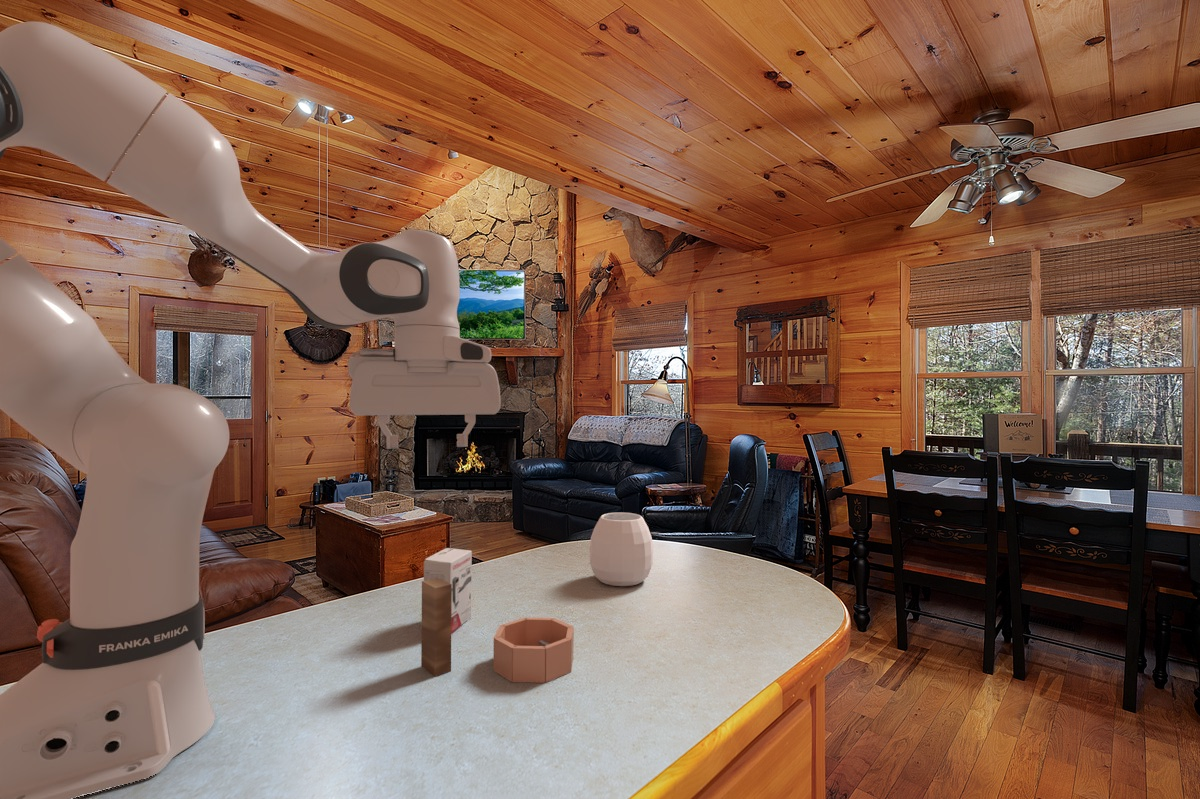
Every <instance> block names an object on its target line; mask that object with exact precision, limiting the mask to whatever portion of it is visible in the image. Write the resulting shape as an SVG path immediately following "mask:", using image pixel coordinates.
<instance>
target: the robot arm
mask: <svg viewBox="0 0 1200 799" xmlns="http://www.w3.org/2000/svg"><path fill="white" fill-rule="evenodd" d="M167 93H168V90H167V89H165V87H162V86H161V85H160V84H158V83H157V82H155V81H154V80H152V79H150V78H149V77H148V76H146V75H145V74H143V73H142V72H140V71H138V70H137V69H135V68H133V67H131V65H129V64H127V63H125V62H123V61H122V60H120V59H119V58H117V57H116V56H114V55H112V54H110V53H109V52H106V51H105V50H103V49H102V48H99V47H97V46H96V45H94V44H92V43H91V42H88V41H87V40H85V39H83V38H82V37H78V35H77V36H76V35H75V34H73V33H71V32H69V31H67V30H66V29H64V28H62V27H59V26H57V25H54V24H51V23H48V22H42V21H30V20H29V21H23V22H20V23H17V24H13V25H11V26H9V27H6V28H4V29H3V30H2V31H0V160H1V159H2V158H3V157H4V154H5V152H6V150H7V148H9V147H10V148H12V147H29V148H35V149H39V150H42V151H45V152H48V153H50V154H52V155H55V156H57V157H59V158H61V159H64V160H66V161H68V162H69V163H71V164H73V165H75V166H77V167H79V168H80V169H82V170H83V171H85V172H87V173H89V174H90V175H92V176H94V177H96V178H97V179H98V180H101V181H102V182H105V181H106V180H107V181H106V184H107V185H109V186H110V187H113V188H115V189H116V190H118V191H119V192H122V193H123V194H125V195H126V196H129V197H130V198H132V199H133V200H136V201H138V202H140V203H141V204H144V205H145V206H147V207H149V208H151V209H153V210H154V211H156V212H158V213H160V214H162V215H164V216H166V217H167V218H169V219H171V220H174V221H175V222H177V223H178V224H180V225H181V226H183V227H186V228H187V229H189V230H190V231H192V232H194V233H195V234H198V235H200V236H201V237H202V238H204V239H205V240H207V241H208V242H210V243H211V244H213V245H214V246H216V247H217V248H219V249H220V250H222V251H224V252H225V253H227V254H228V255H230V256H231V257H233V258H235V259H236V260H238V261H239V262H240V263H242V264H244V266H245V265H246V266H247V267H248V268H250V269H252V270H253V271H255V272H256V273H258V274H259V275H261V276H263V277H264V278H266V279H268V280H269V281H270V282H272V283H274V284H275V285H277V286H278V287H279V288H281V289H282V290H283V291H284V292H285V293H286V294H287V295H289V296H290V297H291V299H293V301H294V302H295V304H297V306H298V307H299V309H300V310H301V311H303V313H304V314H305V315H306V316H307V317H308V318H309V319H311V320H312V321H313V323H316V324H318V325H319V326H322V327H324V328H327V329H332V330H346V329H351V328H353V327H355V326H358V325H361V324H362V323H363V324H364V323H369V322H374V321H376V320H381V319H385V318H387V319H391V320H393V323H394V348H377V349H376V348H375V349H374V348H367V347H366V348H360V349H359V350H358V351H355V352H353V353H352V354H351V355H350V356H349V358H348V360H347V374H348V376H349V378H350V379H351V380H352V381H351V386H350V392H349V395H350V396H349V410H350V411H351V413H353V414H354V415H355V416H357V417H358V416H377V424H378V426H379V428H380V429H381V431H382V433H383V435H384V437H386V438H385V440H386V443H385V444H386V449H387V450H392V449H393V450H395V449H399V442H398V441H399V435H398V434H394V435H393V434H392V432H391V430H390V429H389V427H388V426H387V424H389V423H390V422H391V418H390V416H440V415H442V416H444V415H445V416H449V415H450V416H451V415H455V416H456V415H457V416H458V415H464V422H465V423H467V425H466V427H465V428H464V431H463V432H462V433H457V434H456V440H457V441H456V447H457V448H464V447H465V448H468V444H469V443H468V442H469V441H468V439H469V434H471V431H472V429H473V428H474V427H475V424H476V422H477V421H476V419H477V418H476V415H496V414H497V413H498V412H499V411H500V409H501V405H502V404H501V389H500V382H499V377H498V374H497V371H496V369H495V367H493V365H491V364H490V362H491V360H492V350H491V348H489V346H486V345H483V344H481V343H480V344H479V343H478V342H475V341H471V340H468V339H465V338H462V337H461V330H460V328H461V327H460V324H459V323H460V322H459V320H458V306H459V303H460V296H461V293H460V292H461V290H460V289H461V288H460V270H459V269H460V268H459V262H458V258H457V257H458V256H457V252H456V249H455V247H454V245H453V243H452V242H451V240H449V239H448V238H446V237H445V236H444V235H441V234H440V233H438V232H434V231H432V230H428V229H426V230H425V229H419V228H408V229H405V230H403V231H401V233H398V234H397V235H395V236H393V237H389V238H386V239H383V240H380V241H373V242H364V243H363V242H362V243H358V244H355V245H351V246H349V247H347V248H345V249H341V250H340V251H338V252H335V253H333V254H331V253H330V254H326V253H322V252H317V251H314V250H312V249H310V248H308V247H307V246H306V245H305V244H303V243H301V242H300V241H298V239H295V238H294V237H293V236H292V235H290V234H289V233H287V232H286V231H285V230H284V229H282V228H280V227H279V226H277V225H276V224H275V223H273V222H272V221H271V220H269V219H268V218H267V217H265V216H264V215H263V214H261V213H260V212H259V211H258V210H257V209H256V208H255V207H254V206H253V204H252V203H251V202H250V201H249V199H248V197H247V195H246V192H245V191H244V189H243V185H242V182H241V172H240V165H239V161H238V157H237V156H236V155H237V154H236V153H235V151H234V148H233V146H232V144H231V143H230V141H229V140H228V139H227V138H226V137H225V136H224V135H223V134H222V132H220V131H219V129H216V127H214V126H213V124H212V123H211V122H210V121H208V119H206V118H205V116H203V115H201V114H200V113H199V112H198V111H197V110H195V109H194V108H192V107H191V106H190V105H188V104H187V103H185V102H184V101H183V100H181V99H180V98H178V97H177V96H176V95H174V94H173V93H172V92H169V93H168V94H167ZM16 254H17V255H16ZM14 255H15V256H14ZM12 256H14V257H12ZM9 258H10V259H9ZM358 355H359V356H358ZM0 411H2V412H3V413H4V414H6V415H7V416H8V417H9V418H10V419H12V420H13V422H15V423H16V424H18V425H19V426H20V427H21V428H23V429H24V430H26V432H28V433H29V434H30V435H31V436H32V437H34V438H36V439H37V440H38V441H40V442H41V443H42V444H43V445H45V446H46V447H47V448H48V449H49V450H51V451H52V452H54V453H55V454H56V455H57V456H58V457H60V458H62V459H63V460H64V461H65V462H67V463H68V464H69V465H71V466H72V467H73V468H74V469H76V470H77V471H80V472H81V473H83V474H86V483H85V493H84V498H83V503H82V507H81V512H80V519H79V521H78V526H77V530H76V533H75V536H74V538H73V540H72V541H71V543H70V544H71V545H70V549H69V550H70V554H69V555H70V568H69V570H70V571H69V572H70V575H69V578H70V580H69V581H70V582H69V618H68V619H66V620H64V621H60V619H58V618H50V619H47V620H44V621H43V622H40V623H41V625H39V626H38V627H37V631H36V638H37V639H38V641H39V642H40V643H41V658H42V662H41V664H39V665H38V666H36V667H35V668H34V669H33V670H31V671H30V672H28V673H27V674H26V675H25V676H23V677H22V678H21V679H19V680H18V681H17V682H15V683H14V684H13V685H11V686H10V687H9V688H7V689H6V690H4V692H2V693H0V799H71V798H75V797H76V796H77V797H78V796H80V795H82V794H87V793H92V792H95V791H98V790H103V789H106V788H109V787H114V786H118V785H122V784H127V785H129V784H128V783H130V784H132V783H131V782H134V783H136V782H135V781H138V782H140V781H139V780H141V779H144V778H148V779H150V778H151V777H150V776H152V777H154V776H156V775H157V774H159V773H160V772H161V771H162V770H163V769H164V768H166V767H167V765H168V764H169V763H170V762H171V761H172V759H173V758H175V757H176V756H177V755H178V754H179V755H180V753H182V752H183V751H185V750H186V749H188V748H189V747H191V746H192V745H194V744H195V743H197V741H198V742H199V740H200V739H202V738H203V737H204V736H205V735H206V734H207V733H208V732H209V731H210V729H211V728H212V727H213V725H214V723H215V720H216V713H215V711H214V708H213V706H212V703H211V700H210V696H209V694H208V690H207V685H206V680H205V675H204V668H203V660H202V649H203V646H204V640H205V634H206V633H205V630H206V629H205V625H206V624H205V621H206V618H205V616H206V615H205V612H206V611H205V607H204V600H202V598H201V596H200V550H201V549H200V547H201V545H200V544H201V542H200V541H201V531H202V525H203V520H204V514H205V510H206V505H207V502H208V498H209V495H210V494H209V493H210V490H211V486H212V482H213V478H214V473H215V470H216V468H217V467H218V466H219V464H220V463H221V462H222V461H223V459H224V457H225V455H226V453H227V451H228V448H229V443H230V428H229V424H228V420H227V419H226V417H225V415H224V413H223V412H222V411H221V409H220V408H219V407H218V406H217V405H216V404H215V403H214V402H213V401H211V400H209V399H208V398H207V397H205V396H204V395H202V394H200V393H198V392H196V391H193V390H191V389H189V388H187V387H185V386H181V385H179V384H174V383H173V384H172V383H166V382H165V383H164V382H161V383H160V382H159V383H150V382H149V381H147V380H145V379H144V378H143V377H141V376H140V375H139V374H137V373H136V372H135V371H134V370H133V368H132V367H131V366H130V365H129V364H128V363H127V362H126V360H124V358H123V357H122V356H121V355H120V354H119V352H118V351H117V350H116V349H115V348H114V347H113V346H112V344H111V343H110V342H109V341H108V339H107V338H106V337H105V336H104V334H103V333H102V332H101V330H100V328H99V326H98V324H97V323H96V320H94V318H93V317H92V316H91V315H90V314H88V313H87V312H86V311H85V310H84V309H83V308H82V307H81V306H80V305H78V304H77V303H76V302H75V301H74V300H73V299H72V298H70V297H69V296H68V295H67V294H66V293H65V292H63V291H62V290H61V289H60V288H59V286H57V285H56V284H55V283H53V281H51V280H50V278H48V277H47V276H45V274H44V273H42V272H41V271H40V270H39V269H38V268H37V267H35V266H34V265H33V264H32V263H31V262H30V261H29V260H27V259H26V258H25V257H24V256H23V255H22V254H21V253H20V254H19V252H18V251H17V249H15V248H14V247H13V246H12V245H11V244H10V243H8V242H7V241H6V240H5V239H3V238H2V237H1V236H0ZM155 774H156V775H155ZM153 775H154V776H153ZM149 777H150V778H149ZM141 781H142V780H141Z"/></svg>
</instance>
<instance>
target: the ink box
mask: <svg viewBox="0 0 1200 799" xmlns="http://www.w3.org/2000/svg"><path fill="white" fill-rule="evenodd" d="M472 553H473V550H466V549H461V548H460V549H459V548H452V547H451V548H450V547H445V548H444V549H441V550H440V551H438V552H435V553H434V554H432V555H430V556H428V557H426V558H425V559H424V562H423V581H425V580H430V579H434V578H439V579H441V580H443V581H446V582H448V583H450V584H452V602H451V635H452V634H453V633H454V632H456V630H458V629H459V628H460V627H461V626H462V625H464V624H465V623H466V622H467V621H469V619H471V618H472V569H473V568H472V566H473V565H472V563H473V562H472V561H473V560H472V559H473V558H472V556H473V554H472Z"/></svg>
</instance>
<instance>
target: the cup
mask: <svg viewBox="0 0 1200 799" xmlns="http://www.w3.org/2000/svg"><path fill="white" fill-rule="evenodd" d="M653 560H654V546H653V538H652V534H651V532H650V529H649V526H648V525H647V523H646V521H645V518H644V517H643V516H642V515H640V514H639V513H638V514H637V513H632V512H622V511H621V512H608V513H604V514H602V515H601V516H600V517H599V519H598V521H597V522H596V524H595V526H594V527H593V530H592V534H591V536H590V543H589V565H590V568H591V570H592V573H593V575H594V576H595V578H597V579H598V581H600V582H601V583H602V584H603V583H604V584H605V585H608V586H609V585H610V586H617V587H618V586H619V587H628V586H629V587H630V586H634V585H638V584H640V583H643V582H644V581H645V580H646V579H647V578H649V575H650V572H651V570H652V567H653V564H654V563H653V562H654V561H653Z"/></svg>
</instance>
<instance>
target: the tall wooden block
mask: <svg viewBox="0 0 1200 799" xmlns="http://www.w3.org/2000/svg"><path fill="white" fill-rule="evenodd" d="M451 602H452V584H450V583H448V582H446V581H443V580H441V579H439V578H434V579H430V580H425V581H424V580H422V581H421V644H420V645H421V652H420V654H421V655H420V657H421V664H420V667H421V668H422V669H424V670H425V671H426V672H428V673H429V674H430V675H432V676H433V677H435V678H436V677H439V676H441V675H442V676H443V675H445V674H446V673H447V674H448V673H450V672H451V671H452V634H451Z"/></svg>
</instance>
